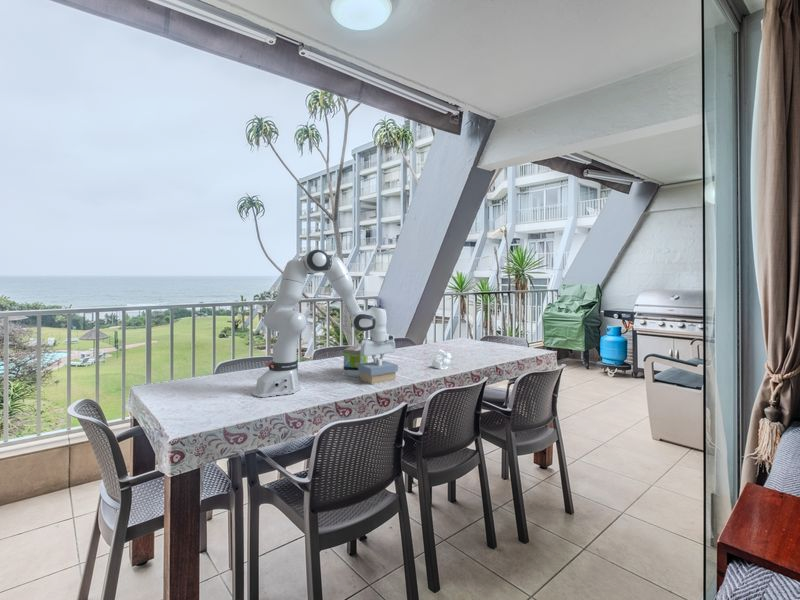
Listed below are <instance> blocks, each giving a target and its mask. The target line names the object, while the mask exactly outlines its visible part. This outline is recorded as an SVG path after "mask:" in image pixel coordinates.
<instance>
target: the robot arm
mask: <svg viewBox="0 0 800 600" xmlns="http://www.w3.org/2000/svg"><path fill="white" fill-rule="evenodd" d="M318 273H322V274H324V275H325V276H326V277H327V280H328V281H329V283H330V285H331V287H332V289H333V290H334V291H335V293H337V295H338V296H339V297H340V298H341V299H342V300H343V302H344V305H345V307H346V308H347V311H348V313H349V321H350V325H351V326H352V328H354V329H356V330H357V331H358V332H366V331H369V337H364V338H363V339H361V343H360V344H361V345H360V346H361V355H362V356H368V357H369V356H371V358H372V360H373V362H374V363H378V362H377V361H378V360H377V359H376V358H377V356H378V355H380V356H379V359H382V360H383V359H384V357H385V355H386V354H387V355H388V354H394V353H395V352H396V343H395V342H396V341H395V335H393V334H389V333H388V332H387V331H388V330H387V325H388V324H387V323H388V317H387V310H386V309H385V308H383V307H381V306H375V305H373V306H372V307H370V308H368V309H367V310H362V308H360V305H359V303H358V301H357V299H356V297H355V294H354V286H355V285H354V281H353V278H352V276H351V274H350V272H349V270H348V268H347V266H346V265H345V263H344V261H342V260H341V258H340V257H338V256H330V255H329V254H327V253H326V252H325V251H323V250H322V249H313V250H311V251H309V252H307V253H306V254H305V255H303V257H301V259H290V260H288V262H287V263H286V265H285V266H284V270H283V272H282V275H281V279H280V284H279V289H278V293H277V296H276V298H275V300H274V303H273V304H272V306H271V307H270V309H268V311H266V312H265V314H264V315H263V318H262V319H263V320H262V321H263V324H264V326H265V327H266V328H267V329H269V330H271V331H274V332H278V336H277V340H276V341H275V342H274V343H273V345H272V361H271V362H270V361H266V362H265V366H266V367H268V370H266V371H265V373H263V374H262V375H261V376H260V377H258V379H257V381H256V384H255V388H252V389H251V391H250V392H251V395H252V394H253V396H254V395H255V396H254V397H256V396H257V397H256V398H260V397H263V398H270V397H269V396H272V397H277V396H276V395H280V396H285V395H284V394H288V395H293V394H292V393H294V394H295V393H296V392H298V391H300V390H301V387H300V382H299V377H298V370H299V369H298V368H299V362H298V359H297V358H298V357H297V356H298V355H297V352H298V351H297V348H298V341H299V338H300V336H301V334H302V332H304V330H305V329H306V327H307V324H308V323H307V317H306V315H304V314H303V313H302V312H299V311H297V310H294V309H295V306H296V305H297V304H298V303H299V302H301V300H302V297H303V293H304V288H305V287H304V286H305V281H306V278H307V276H308V275H315V274H318Z"/></svg>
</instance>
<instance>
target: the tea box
mask: <svg viewBox="0 0 800 600" xmlns="http://www.w3.org/2000/svg"><path fill="white" fill-rule="evenodd" d="M368 357H369V356H362V355H361V345H351V346H349V347H346V348H345V349H343V373H342V374H343V376H347V377H361V372H360V371H358V364H363V363H368Z"/></svg>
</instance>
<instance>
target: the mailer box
mask: <svg viewBox="0 0 800 600" xmlns="http://www.w3.org/2000/svg"><path fill="white" fill-rule="evenodd" d="M396 373H397V372H390V373H384V374H378V375H372V376H371V375H368V374H366V373H363V372H361V375H360V381H362V380H363V381H362V382H366V383H367V382H368V383H367V384H369V383H371V384H370V385H376V384H375V383H377V384H381V383H380V382H383V383H386V382H385V381H388V382H391V381H390V380H394V381H396V380H395V379H396Z"/></svg>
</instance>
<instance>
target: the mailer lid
mask: <svg viewBox="0 0 800 600" xmlns="http://www.w3.org/2000/svg"><path fill="white" fill-rule="evenodd" d="M375 358H376V359H377V360H378V361H377V362H378V363H374V361H371V362H367V363H363V364H358V371H360V372H363V373H366V374H368V375H371V376H372V375H378V374H384V373H390V372H396V373H397V372H398V371H399V370H398V369H399V365H398V364H396V363H393V362H390V361H386V360H383V359H380V358H378V357H375Z"/></svg>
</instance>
